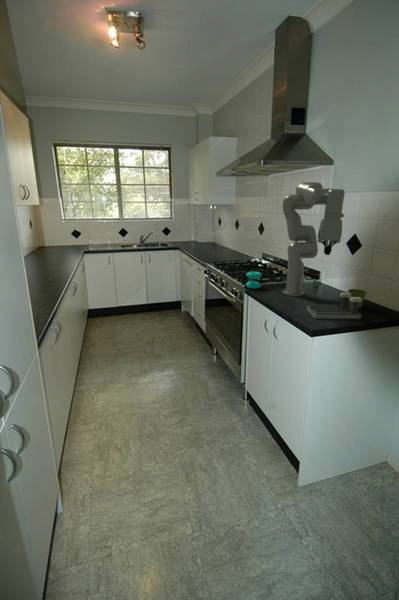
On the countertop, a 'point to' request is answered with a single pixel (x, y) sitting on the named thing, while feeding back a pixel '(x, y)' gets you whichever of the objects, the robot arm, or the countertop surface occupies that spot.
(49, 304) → the countertop surface
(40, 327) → the countertop surface
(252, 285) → the teal spool
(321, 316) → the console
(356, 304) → the fader knob
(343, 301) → the white striped slider handle
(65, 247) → the countertop surface
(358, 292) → the plant pot
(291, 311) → the countertop surface
